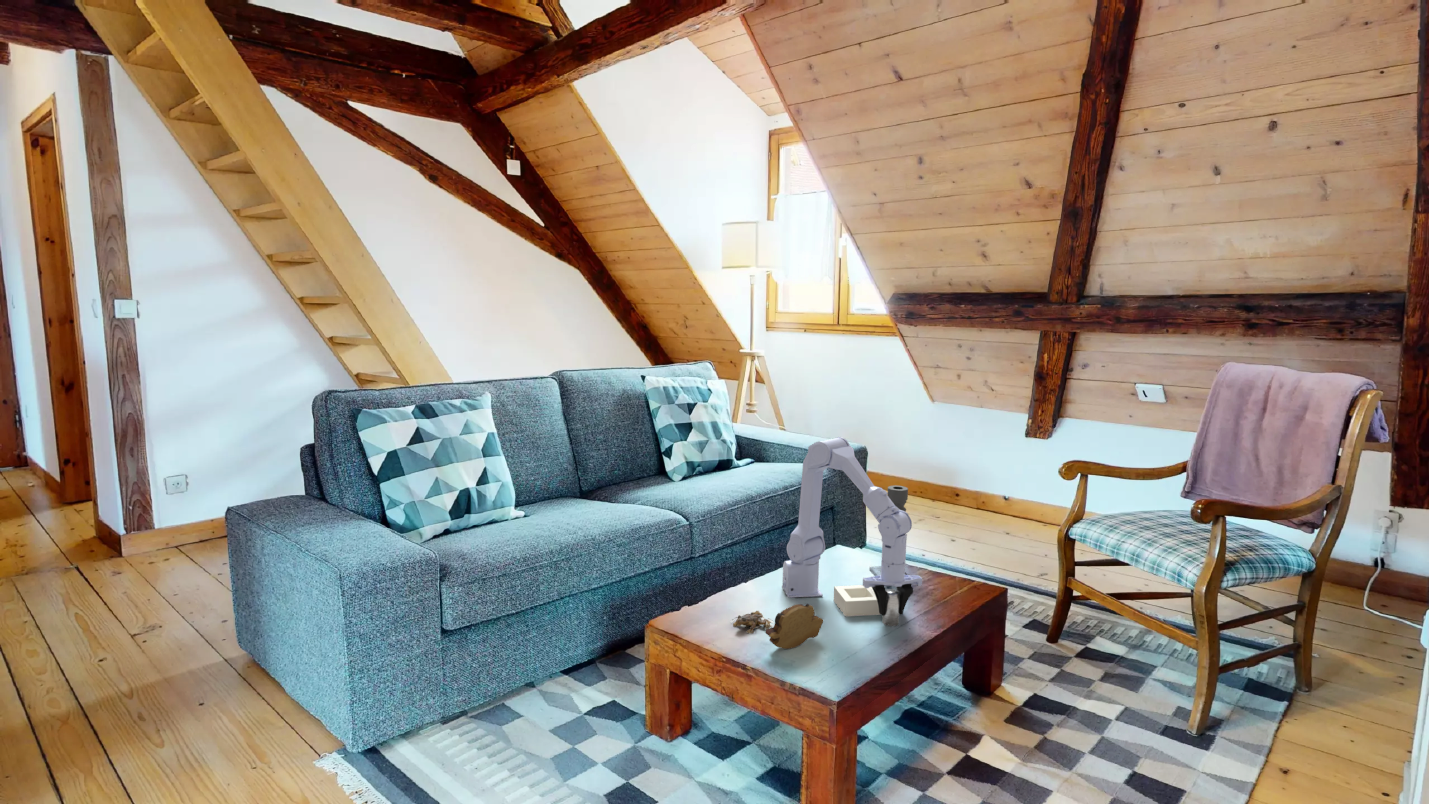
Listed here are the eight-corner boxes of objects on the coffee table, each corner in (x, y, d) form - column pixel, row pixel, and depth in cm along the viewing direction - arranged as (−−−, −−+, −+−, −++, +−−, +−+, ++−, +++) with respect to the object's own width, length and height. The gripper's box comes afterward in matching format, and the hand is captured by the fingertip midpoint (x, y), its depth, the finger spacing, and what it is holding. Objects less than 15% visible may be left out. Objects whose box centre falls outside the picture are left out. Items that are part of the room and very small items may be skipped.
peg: (885, 626, 198) (887, 595, 197) (879, 619, 202) (881, 589, 200) (901, 625, 198) (902, 594, 197) (895, 619, 202) (896, 588, 201)
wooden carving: (809, 632, 194) (811, 592, 193) (824, 638, 191) (825, 598, 189) (761, 652, 183) (762, 610, 182) (775, 659, 180) (776, 617, 179)
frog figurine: (754, 642, 190) (755, 626, 189) (718, 626, 198) (718, 611, 197) (786, 627, 198) (786, 612, 197) (750, 613, 206) (750, 598, 205)
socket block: (845, 616, 203) (845, 601, 203) (833, 600, 213) (834, 586, 213) (883, 614, 205) (883, 599, 204) (869, 599, 215) (870, 584, 214)
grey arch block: (881, 614, 205) (882, 580, 203) (868, 599, 215) (869, 566, 213) (903, 613, 206) (905, 579, 204) (889, 598, 215) (891, 565, 214)
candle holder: (905, 576, 232) (909, 491, 228) (883, 574, 233) (886, 490, 229) (904, 568, 238) (908, 486, 234) (883, 566, 239) (886, 484, 235)
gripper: (870, 567, 193) (868, 621, 195) (928, 565, 195) (925, 618, 197) (860, 557, 199) (858, 609, 201) (916, 555, 202) (913, 607, 204)
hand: (890, 613), depth 200 cm, fingers closed on peg, 4 cm apart
